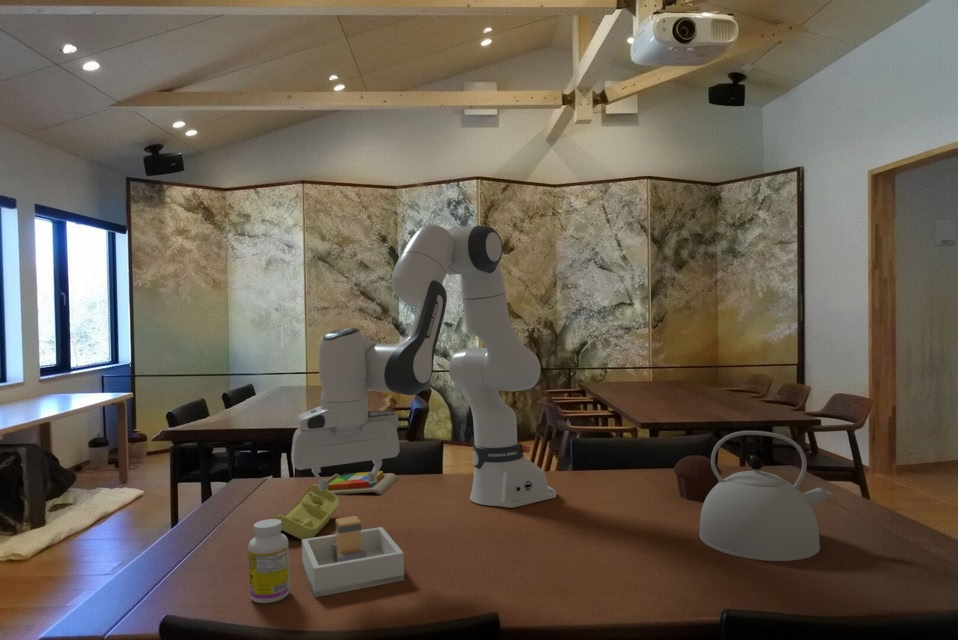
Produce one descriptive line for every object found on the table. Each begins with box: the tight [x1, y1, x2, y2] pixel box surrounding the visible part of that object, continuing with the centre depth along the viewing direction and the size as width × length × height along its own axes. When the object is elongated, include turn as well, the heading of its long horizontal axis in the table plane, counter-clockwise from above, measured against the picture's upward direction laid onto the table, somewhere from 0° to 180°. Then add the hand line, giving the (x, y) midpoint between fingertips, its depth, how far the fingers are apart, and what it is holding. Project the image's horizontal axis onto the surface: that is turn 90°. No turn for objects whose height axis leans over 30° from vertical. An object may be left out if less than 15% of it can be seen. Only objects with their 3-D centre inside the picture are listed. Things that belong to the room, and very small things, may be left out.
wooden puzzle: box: [327, 470, 398, 496], centre depth 184 cm, size 17×19×4 cm
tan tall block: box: [335, 515, 362, 562], centre depth 124 cm, size 4×4×8 cm
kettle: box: [699, 430, 832, 562], centre depth 133 cm, size 25×23×22 cm
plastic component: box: [274, 483, 340, 540], centre depth 150 cm, size 20×7×10 cm
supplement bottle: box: [247, 518, 291, 604], centre depth 113 cm, size 7×7×13 cm
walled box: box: [301, 526, 405, 598], centre depth 123 cm, size 16×16×5 cm
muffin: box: [673, 454, 722, 502], centre depth 165 cm, size 12×11×10 cm
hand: (348, 485), depth 124 cm, fingers open, 8 cm apart
